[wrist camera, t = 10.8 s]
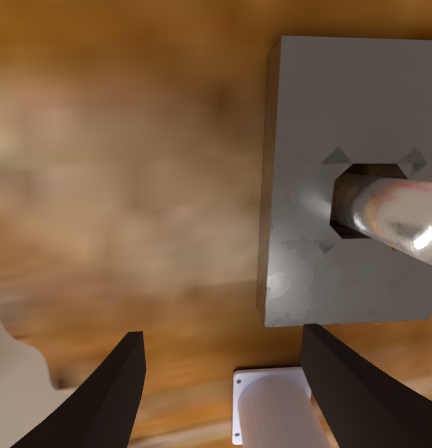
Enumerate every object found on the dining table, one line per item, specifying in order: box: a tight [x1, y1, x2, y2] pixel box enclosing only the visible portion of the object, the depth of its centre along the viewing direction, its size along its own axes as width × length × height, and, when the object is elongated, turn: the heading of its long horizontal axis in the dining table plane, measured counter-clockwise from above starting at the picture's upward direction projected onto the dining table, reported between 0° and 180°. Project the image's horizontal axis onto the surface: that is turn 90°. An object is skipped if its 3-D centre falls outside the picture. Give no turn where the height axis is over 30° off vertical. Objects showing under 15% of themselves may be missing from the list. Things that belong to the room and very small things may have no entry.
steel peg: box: [330, 173, 432, 265], centre depth 16 cm, size 4×4×9 cm
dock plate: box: [256, 35, 432, 327], centre depth 19 cm, size 20×14×3 cm
